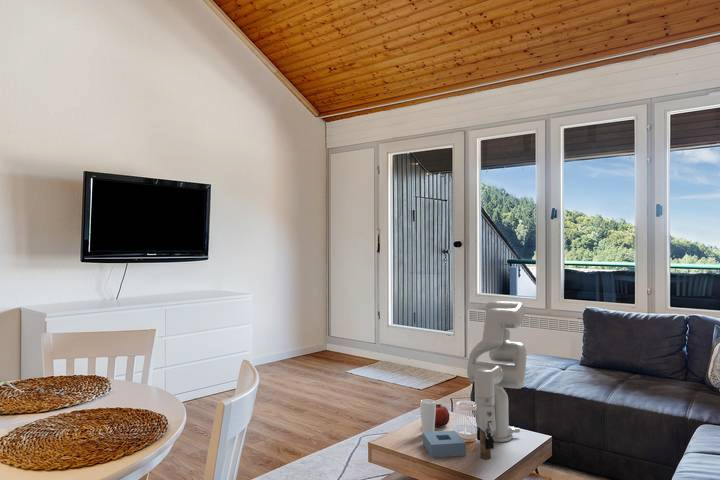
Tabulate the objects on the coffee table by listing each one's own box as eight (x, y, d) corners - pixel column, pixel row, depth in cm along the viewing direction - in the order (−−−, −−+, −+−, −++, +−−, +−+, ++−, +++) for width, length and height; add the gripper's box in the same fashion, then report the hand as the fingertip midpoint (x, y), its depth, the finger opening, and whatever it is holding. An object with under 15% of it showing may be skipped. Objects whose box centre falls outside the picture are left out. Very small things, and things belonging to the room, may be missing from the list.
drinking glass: (432, 431, 236) (431, 398, 236) (438, 436, 229) (438, 402, 229) (418, 433, 234) (417, 399, 234) (424, 438, 227) (424, 404, 227)
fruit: (439, 431, 236) (439, 409, 236) (423, 425, 244) (423, 404, 244) (455, 426, 243) (454, 404, 243) (438, 420, 251) (438, 399, 251)
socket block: (455, 442, 223) (454, 430, 223) (465, 455, 209) (465, 442, 209) (422, 444, 221) (422, 432, 221) (431, 457, 207) (431, 444, 207)
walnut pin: (488, 454, 209) (487, 424, 209) (492, 458, 205) (491, 428, 205) (478, 455, 208) (478, 425, 209) (482, 459, 204) (481, 428, 205)
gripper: (502, 406, 199) (503, 452, 199) (485, 393, 216) (486, 435, 216) (483, 407, 198) (484, 453, 198) (468, 394, 215) (468, 437, 215)
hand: (485, 444), depth 207 cm, fingers open, 8 cm apart
